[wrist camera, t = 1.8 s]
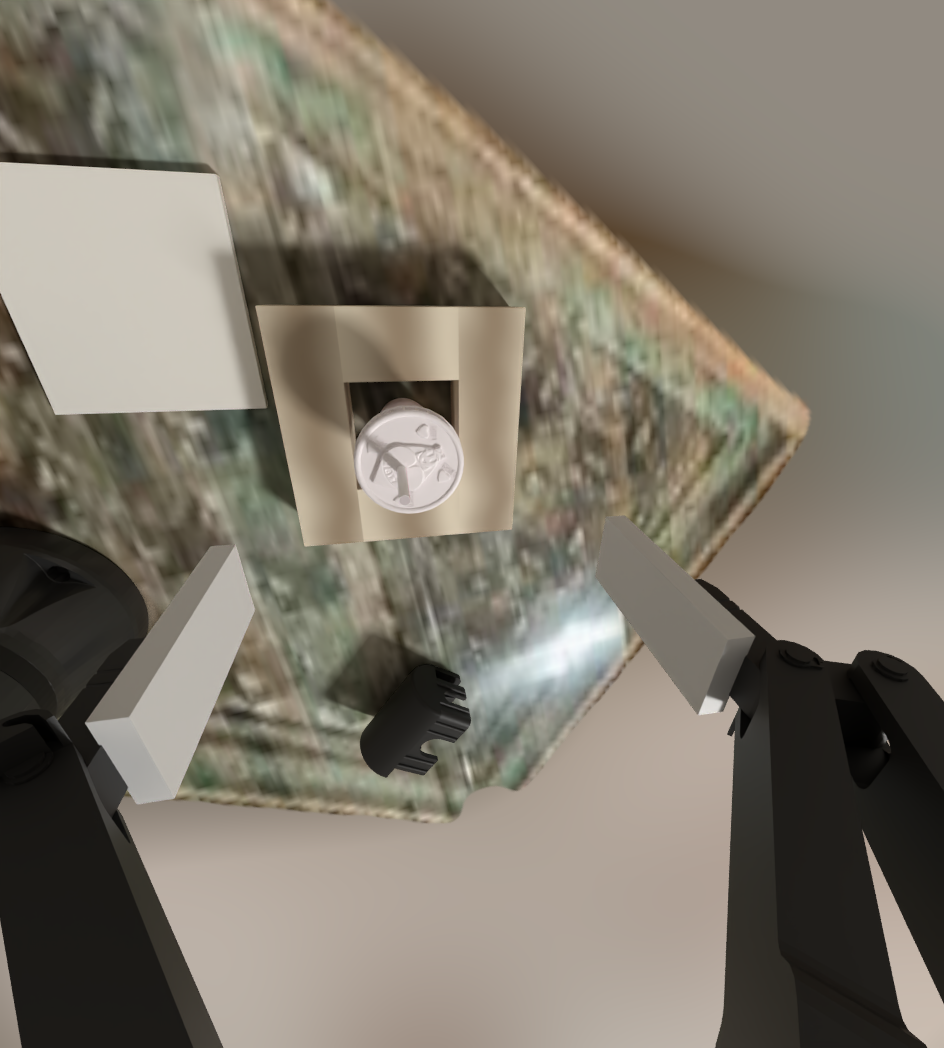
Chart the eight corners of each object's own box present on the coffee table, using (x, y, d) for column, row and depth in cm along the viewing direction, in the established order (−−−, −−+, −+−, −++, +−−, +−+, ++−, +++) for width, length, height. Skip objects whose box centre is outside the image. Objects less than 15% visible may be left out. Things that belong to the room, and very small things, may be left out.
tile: (61, 412, 28) (55, 414, 28) (-50, 162, 22) (-61, 158, 22) (268, 406, 30) (266, 408, 30) (219, 176, 24) (215, 173, 24)
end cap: (409, 651, 44) (413, 706, 38) (464, 672, 47) (475, 726, 41) (360, 712, 47) (357, 772, 41) (414, 728, 50) (419, 786, 44)
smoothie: (344, 399, 31) (320, 465, 19) (424, 364, 31) (451, 407, 19) (384, 474, 34) (384, 570, 22) (457, 442, 34) (497, 522, 22)
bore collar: (312, 521, 35) (304, 546, 32) (271, 304, 28) (255, 305, 24) (500, 508, 38) (512, 529, 34) (509, 306, 30) (525, 307, 27)
